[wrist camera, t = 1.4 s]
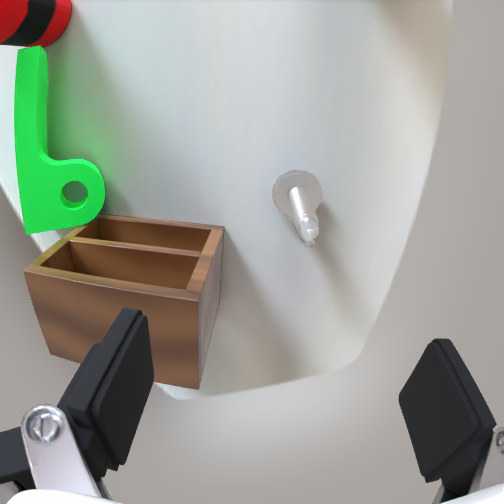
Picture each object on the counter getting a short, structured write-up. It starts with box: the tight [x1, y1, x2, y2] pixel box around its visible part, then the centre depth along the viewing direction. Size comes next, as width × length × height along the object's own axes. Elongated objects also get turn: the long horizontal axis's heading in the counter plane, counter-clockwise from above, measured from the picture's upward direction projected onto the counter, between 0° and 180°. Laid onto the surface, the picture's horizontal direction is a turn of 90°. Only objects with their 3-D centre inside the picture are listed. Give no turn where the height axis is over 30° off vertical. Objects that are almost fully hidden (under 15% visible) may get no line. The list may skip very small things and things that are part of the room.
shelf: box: [24, 214, 224, 390], centre depth 30 cm, size 10×16×14 cm, turn 84°
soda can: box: [0, 0, 72, 47], centre depth 18 cm, size 8×8×12 cm
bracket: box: [14, 46, 105, 234], centre depth 28 cm, size 20×10×7 cm
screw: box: [272, 170, 322, 247], centre depth 26 cm, size 13×5×5 cm
